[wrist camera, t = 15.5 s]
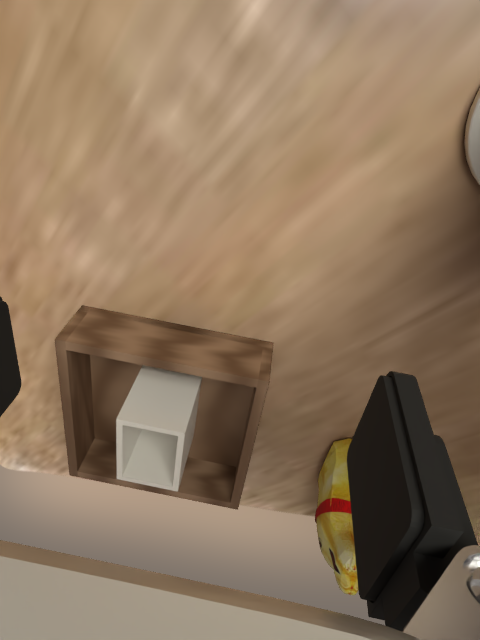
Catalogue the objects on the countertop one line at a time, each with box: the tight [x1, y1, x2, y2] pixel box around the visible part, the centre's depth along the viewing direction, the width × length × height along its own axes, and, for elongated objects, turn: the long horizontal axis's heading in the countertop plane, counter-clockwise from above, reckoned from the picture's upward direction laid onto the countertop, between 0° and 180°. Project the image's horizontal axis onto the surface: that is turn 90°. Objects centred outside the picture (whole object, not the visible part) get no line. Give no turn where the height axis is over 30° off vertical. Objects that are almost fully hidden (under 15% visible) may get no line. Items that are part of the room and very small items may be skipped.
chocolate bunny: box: [315, 438, 358, 595], centre depth 48 cm, size 7×11×15 cm, turn 170°
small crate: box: [116, 365, 202, 492], centre depth 47 cm, size 6×9×8 cm
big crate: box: [55, 306, 273, 509], centre depth 49 cm, size 20×20×6 cm
